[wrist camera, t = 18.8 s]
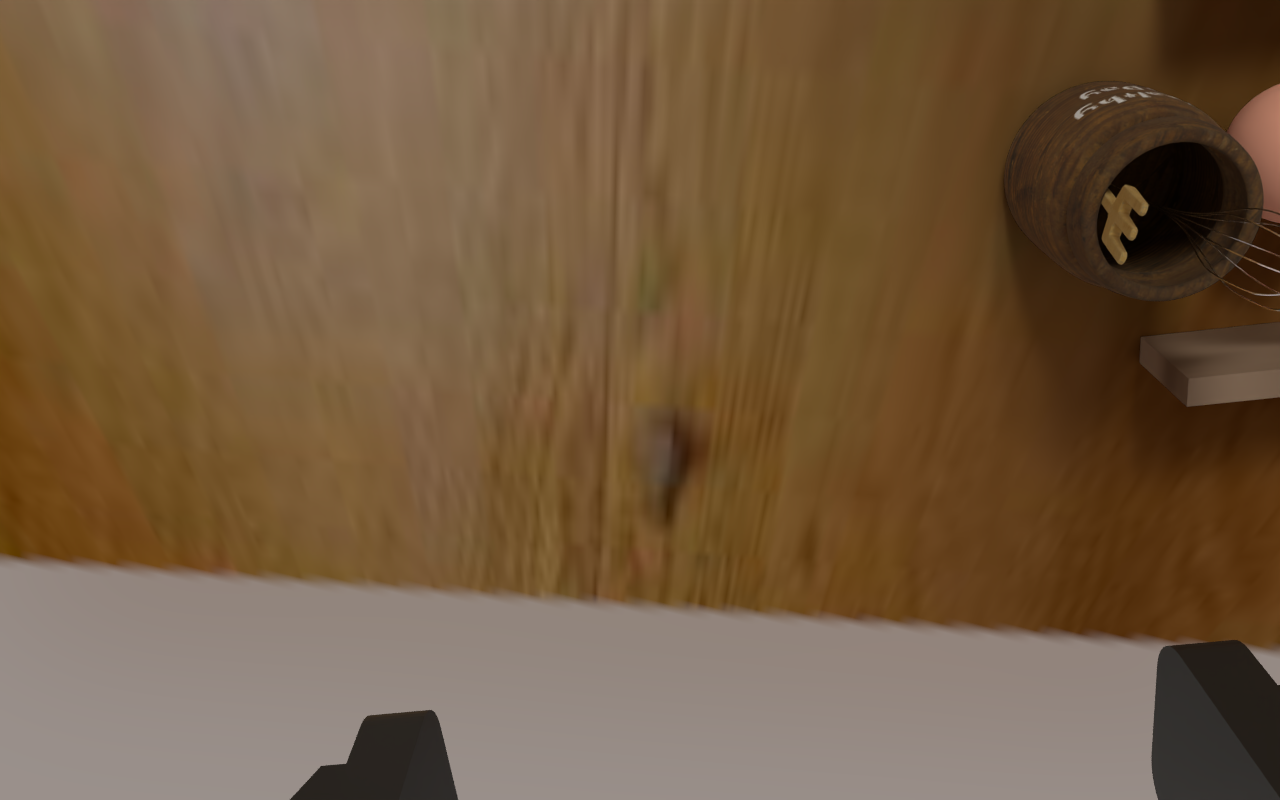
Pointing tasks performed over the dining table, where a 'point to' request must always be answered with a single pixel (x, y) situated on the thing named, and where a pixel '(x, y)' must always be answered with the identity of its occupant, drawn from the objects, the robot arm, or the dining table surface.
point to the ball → (1262, 143)
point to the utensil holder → (1135, 191)
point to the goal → (1216, 363)
